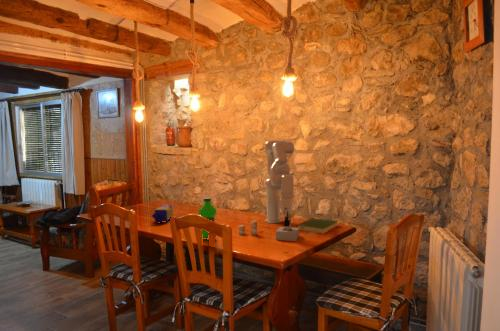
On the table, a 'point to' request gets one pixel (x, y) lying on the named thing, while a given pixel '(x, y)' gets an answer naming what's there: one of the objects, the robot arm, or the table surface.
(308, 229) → the hardcover book
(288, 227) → the long dowel
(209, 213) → the plastic bottle
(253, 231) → the medium dowel
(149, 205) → the table surface
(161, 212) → the toy truck
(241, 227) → the short dowel
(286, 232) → the socket block
